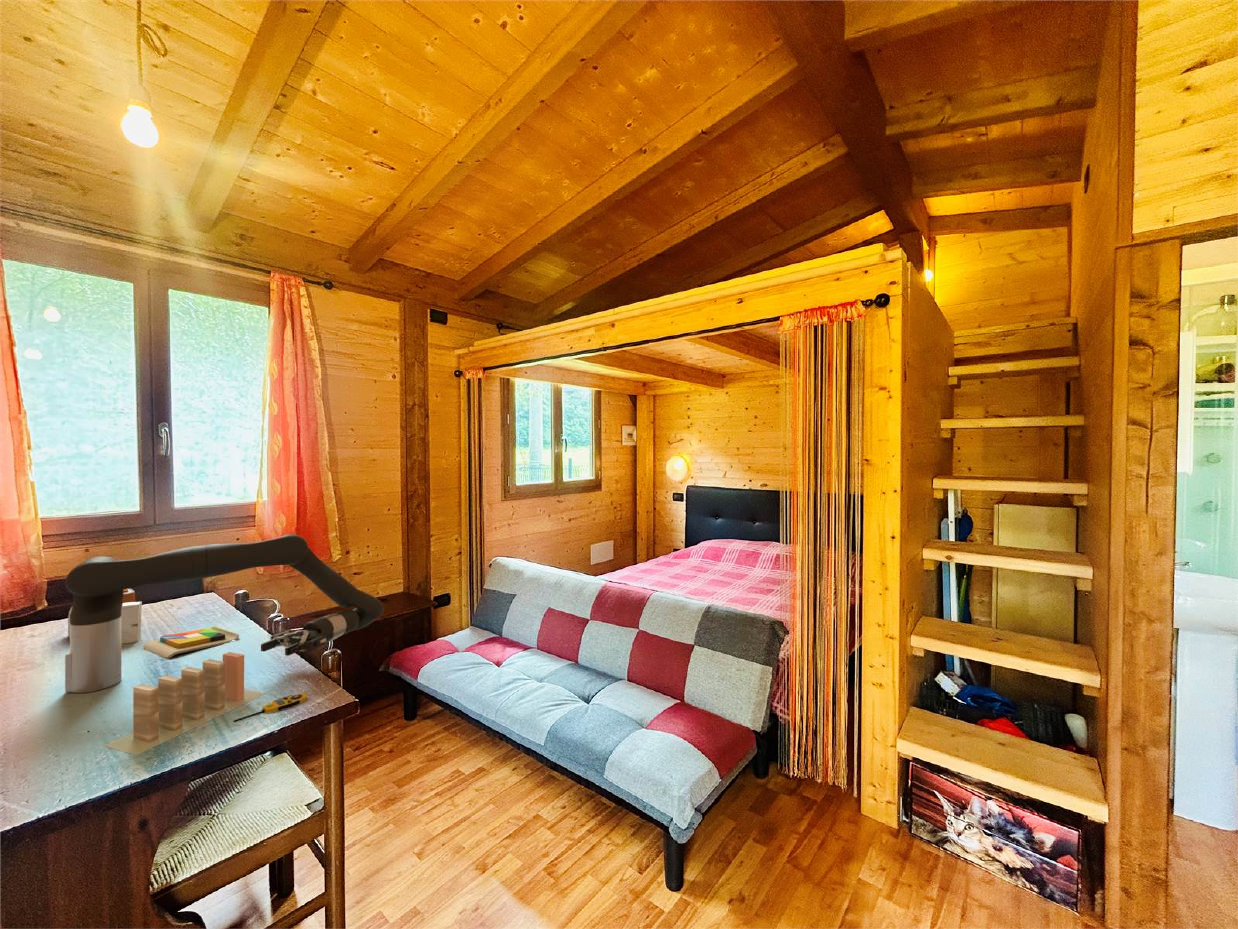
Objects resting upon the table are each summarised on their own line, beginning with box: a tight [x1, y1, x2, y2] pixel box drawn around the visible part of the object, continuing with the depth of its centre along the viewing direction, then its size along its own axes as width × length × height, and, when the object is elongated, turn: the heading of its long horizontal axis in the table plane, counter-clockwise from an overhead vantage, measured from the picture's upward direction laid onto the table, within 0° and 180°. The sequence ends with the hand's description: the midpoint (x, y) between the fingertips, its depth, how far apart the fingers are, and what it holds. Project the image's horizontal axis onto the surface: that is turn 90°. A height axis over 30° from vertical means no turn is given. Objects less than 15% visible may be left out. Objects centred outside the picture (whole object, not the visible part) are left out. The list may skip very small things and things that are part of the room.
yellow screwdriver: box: [232, 692, 309, 723], centre depth 118 cm, size 5×2×15 cm
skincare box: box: [121, 601, 143, 645], centre depth 158 cm, size 6×4×12 cm
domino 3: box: [180, 666, 205, 721], centre depth 113 cm, size 2×5×11 cm, turn 74°
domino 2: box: [157, 674, 183, 731], centre depth 109 cm, size 2×5×11 cm, turn 74°
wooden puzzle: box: [142, 625, 240, 660], centre depth 157 cm, size 18×19×4 cm
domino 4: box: [202, 659, 225, 711], centre depth 118 cm, size 2×5×11 cm, turn 74°
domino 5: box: [222, 651, 245, 702], centre depth 122 cm, size 2×5×11 cm, turn 74°
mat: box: [103, 688, 266, 756], centre depth 114 cm, size 27×10×1 cm, turn 164°
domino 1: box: [132, 683, 159, 743], centre depth 105 cm, size 2×5×11 cm, turn 74°
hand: (273, 650), depth 132 cm, fingers open, 8 cm apart
